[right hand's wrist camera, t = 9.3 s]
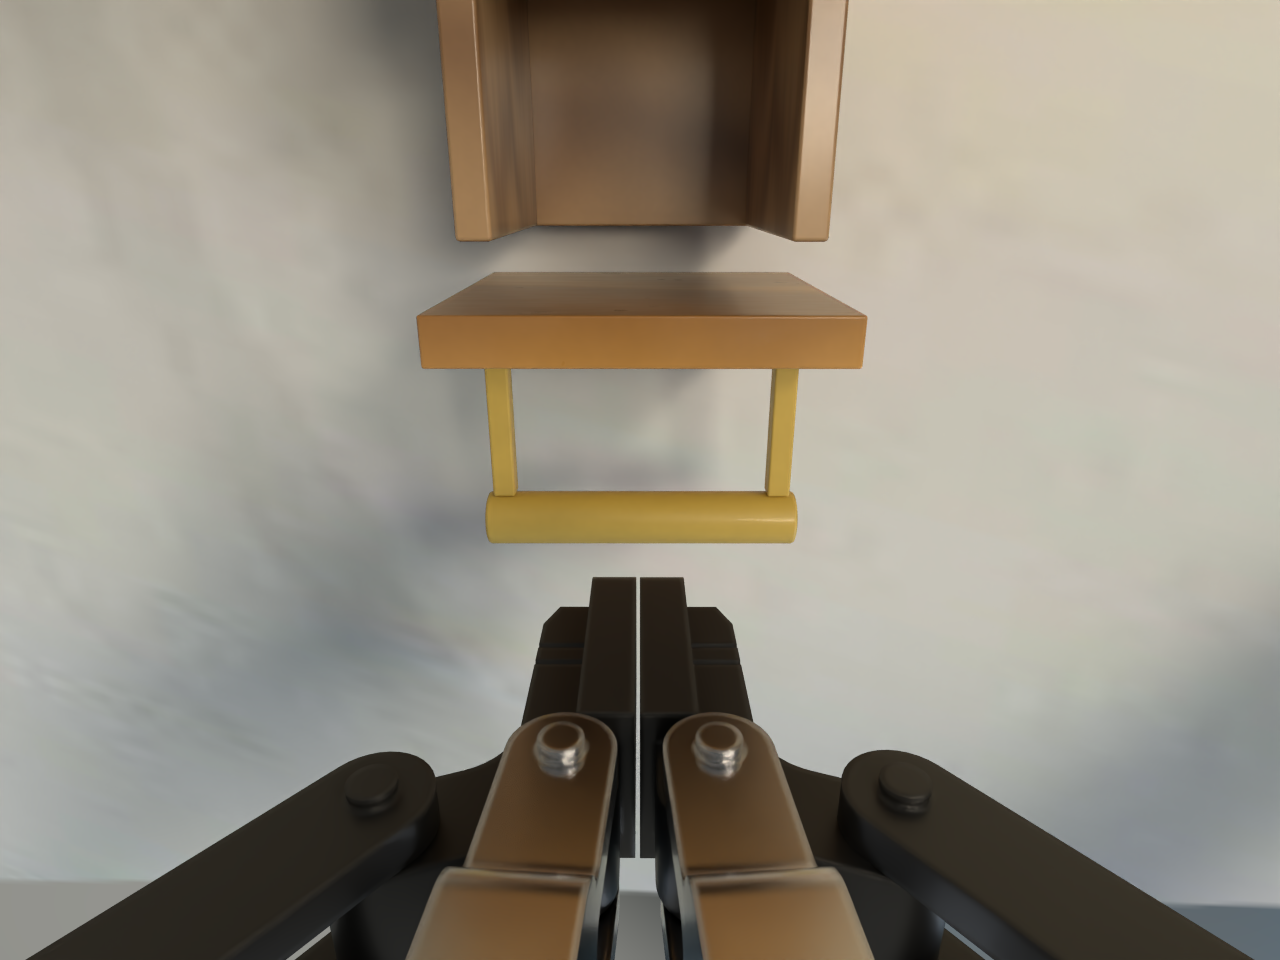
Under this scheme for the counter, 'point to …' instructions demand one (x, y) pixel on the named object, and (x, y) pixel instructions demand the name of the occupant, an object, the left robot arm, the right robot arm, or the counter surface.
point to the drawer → (642, 223)
